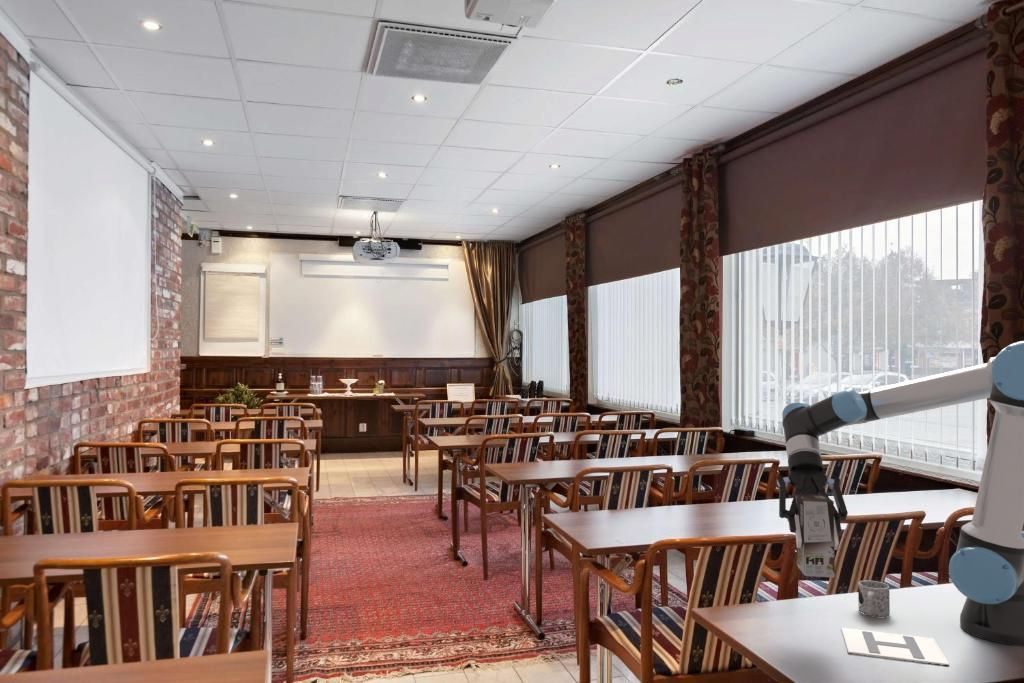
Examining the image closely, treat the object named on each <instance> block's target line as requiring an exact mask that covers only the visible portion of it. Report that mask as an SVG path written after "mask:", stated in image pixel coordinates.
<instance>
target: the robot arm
mask: <svg viewBox="0 0 1024 683" xmlns="http://www.w3.org/2000/svg"><path fill="white" fill-rule="evenodd" d="M985 399H988V402H989V403H990V404H991V405H992V406H993V408H994V409H995V410H994V411H995V413H994V418H993V423H992V427H991V432H990V436H989V441H988V446H987V451H986V455H985V459H984V463H983V464H984V465H983V468H982V472H981V473H982V474H981V478H980V482H979V487H978V492H977V496H976V499H975V500H976V501H975V505H974V506H975V507H974V509H973V514H972V519H971V520H970V521H969V522H966V523H965V524H963V525H962V526H961V529H960V533H959V538H958V543H957V547H956V551H955V552H954V553H953V555H951V557H950V559H949V565H948V574H949V577H950V580H951V582H952V584H953V586H954V587H955V588H956V589H957V590H958V591H959V592H960V593H961V594H962V596H963V595H964V597H966V598H965V602H964V604H963V607H962V609H961V612H960V613H959V614H960V615H959V627H960V628H961V629H962V630H963V631H965V632H967V633H968V634H970V635H973V636H974V637H977V638H980V639H984V640H988V641H991V642H996V643H999V644H1006V645H1014V646H1024V531H1023V528H1024V340H1020V341H1016V342H1014V343H1011V344H1009V345H1007V346H1005V347H1004V348H1003V349H1001V350H1000V351H999V352H998V353H997V355H996V356H993V357H990V358H989V360H987V363H981V364H978V365H975V366H970V367H965V368H960V369H956V370H952V371H948V372H947V371H946V372H944V373H939V374H934V375H930V376H929V375H928V376H925V377H922V378H921V377H920V378H917V379H913V380H908V381H904V382H898V383H895V384H894V383H893V384H890V385H885V386H882V387H878V388H873V389H868V390H867V389H866V390H864V391H859V392H858V391H856V390H855V389H853V388H847V389H845V390H841V391H837V392H835V393H834V394H832V395H831V396H828V397H826V398H824V399H822V400H820V401H817V402H815V403H814V404H809V403H807V402H803V401H797V402H791V403H789V404H787V405H786V406H785V407H784V408H783V410H782V413H781V415H782V421H781V422H782V428H783V429H782V430H783V433H784V439H785V440H784V441H785V448H786V456H787V466H788V473H789V474H788V476H785V477H783V476H782V475H778V476H777V478H776V486H777V488H778V491H779V492H778V495H779V496H778V498H779V499H778V500H779V501H778V502H779V503H778V504H779V505H778V506H779V507H778V516H779V517H778V518H780V519H784V518H785V519H787V522H788V527H789V531H790V533H794V534H795V544H796V543H797V548H801V544H802V538H801V530H800V523H799V516H798V515H795V514H796V508H797V504H796V497H795V494H803V495H804V494H821V495H825V496H826V497H828V498H829V499H831V498H830V497H829V495H828V494H827V492H826V488H825V487H826V486H827V485H828V487H829V489H830V490H831V491H832V495H833V498H834V504H835V505H836V506H834V551H837V550H838V548H839V543H840V542H839V537H838V535H839V536H840V535H841V532H842V526H841V525H842V524H841V521H843V522H846V521H847V519H848V514H849V513H848V510H847V505H846V503H845V499H844V497H843V493H842V490H841V487H840V485H841V478H839V477H835V478H829V477H828V476H827V475H826V473H825V470H824V464H823V458H822V453H821V448H820V447H821V446H820V441H819V437H821V436H823V435H827V434H828V433H830V432H833V431H836V430H838V429H840V428H844V427H847V426H854V425H859V424H860V425H862V424H867V423H869V422H874V421H878V420H882V419H883V420H884V419H889V418H893V417H899V416H904V415H908V414H914V413H918V412H925V411H929V410H934V409H940V408H944V407H945V408H946V407H950V406H954V405H960V404H965V403H970V402H976V401H980V400H985ZM788 484H790V485H791V486H792V487H793V488H794V489H795V491H794V494H793V497H792V501H791V504H790V507H789V510H788V509H786V508H787V506H786V505H787V504H786V502H787V498H786V497H787V495H786V493H787V492H786V491H787V490H786V488H787V487H788Z"/></svg>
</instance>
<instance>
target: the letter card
mask: <svg viewBox="0 0 1024 683" xmlns="http://www.w3.org/2000/svg"><path fill="white" fill-rule="evenodd" d="M841 629H842V630H841ZM840 630H841V632H843V633H842V636H844V637H843V639H845V640H844V644H845V647H846V646H847V647H846V650H847V653H854V654H853V655H856V654H860V655H859V656H864V655H866V656H865V657H872V658H880V659H888V660H896V661H897V660H898V661H904V660H906V661H905V662H912V661H914V663H920V662H923V663H922V664H928V663H931V664H930V665H935V664H940V665H939V666H943V665H949V666H950V663H949V662H948V660H947V658H946V657H945V655H944V653H943V652H942V650H941V649H940V647H939V645H938V644H937V642H936V641H935V640H936V639H935V638H933V637H926V636H917V635H916V636H915V635H909V634H908V635H907V634H901V633H890V632H882V631H873V630H864V629H856V628H846V627H841V628H840Z"/></svg>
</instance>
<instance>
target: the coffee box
mask: <svg viewBox="0 0 1024 683" xmlns="http://www.w3.org/2000/svg"><path fill="white" fill-rule="evenodd" d="M794 494H795V493H794ZM795 497H796V504H797V508H796V514H795V515H798V516H799V523H800V530H801V538H802V544H801V548H797V543H796V542H795V545H796V546H795V547H796V548H795V549H796V553H795V554H796V566H797V568H798V569H799V571H800V572H801V573H802V574H803V575H804V576H806V577H820V578H832V579H833V578H836V577H835V576H836V575H835V573H836V572H835V571H836V570H835V569H836V568H835V567H836V566H835V550H834V507H835V505H834V504H835V500H832V499H831V498H830V497H829V496H828V497H829V498H830V499H829V498H828V497H826V496H825V495H821V494H795Z"/></svg>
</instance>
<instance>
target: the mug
mask: <svg viewBox="0 0 1024 683" xmlns="http://www.w3.org/2000/svg"><path fill="white" fill-rule="evenodd" d="M857 585H858V586H857V588H858V589H857V590H858V592H857V593H858V598H857V599H858V600H857V601H858V612H859V611H860V612H862V613H864V614H866V615H865V616H867V615H868V616H867V617H871V616H874V617H873V618H878V617H884V618H888V617H887V616H889V615H890V616H891V614H890V612H891V611H890V610H891V609H890V607H891V606H890V603H891V602H890V585H889V584H887V583H885V582H882V581H876V580H859V581H858V582H857ZM860 612H859V613H860ZM862 613H861V614H862ZM864 614H863V615H864ZM890 616H889V617H890Z"/></svg>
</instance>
